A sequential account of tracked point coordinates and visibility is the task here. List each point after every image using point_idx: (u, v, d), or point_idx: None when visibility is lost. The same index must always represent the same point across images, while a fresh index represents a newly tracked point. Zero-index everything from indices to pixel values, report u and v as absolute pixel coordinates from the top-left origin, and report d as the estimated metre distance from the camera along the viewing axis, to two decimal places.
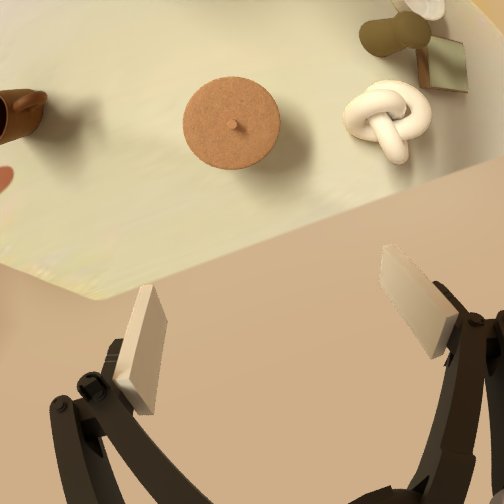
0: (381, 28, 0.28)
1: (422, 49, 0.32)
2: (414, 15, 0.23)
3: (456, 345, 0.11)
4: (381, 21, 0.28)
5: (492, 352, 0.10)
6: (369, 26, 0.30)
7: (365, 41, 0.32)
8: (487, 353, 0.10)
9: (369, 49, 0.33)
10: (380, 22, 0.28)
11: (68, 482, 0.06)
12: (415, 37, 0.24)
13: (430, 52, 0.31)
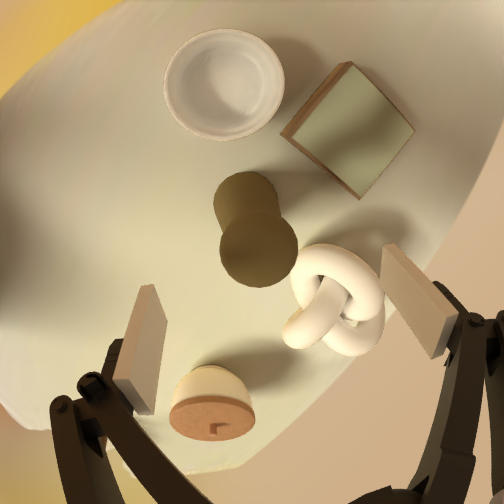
0: None
1: (308, 156, 0.25)
2: (237, 250, 0.18)
3: (456, 345, 0.11)
4: (221, 226, 0.24)
5: (492, 352, 0.10)
6: None
7: None
8: (487, 353, 0.10)
9: None
10: (221, 228, 0.24)
11: (68, 482, 0.06)
12: (271, 279, 0.20)
13: (320, 156, 0.24)
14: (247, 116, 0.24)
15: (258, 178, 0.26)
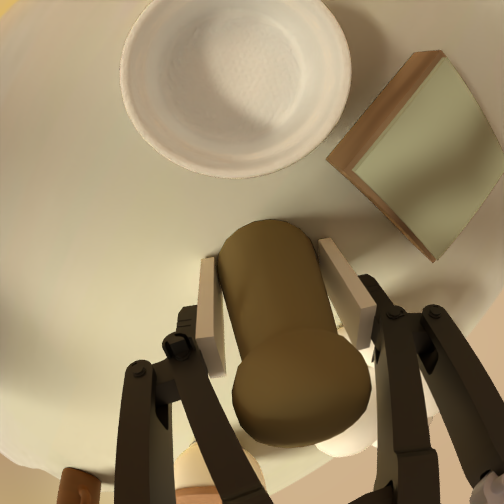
0: None
1: (371, 199, 0.15)
2: (268, 420, 0.08)
3: (379, 341, 0.12)
4: (231, 323, 0.14)
5: (420, 347, 0.11)
6: None
7: None
8: None
9: None
10: (232, 325, 0.14)
11: (124, 449, 0.08)
12: (321, 441, 0.10)
13: (394, 203, 0.14)
14: (274, 128, 0.14)
15: (291, 233, 0.16)
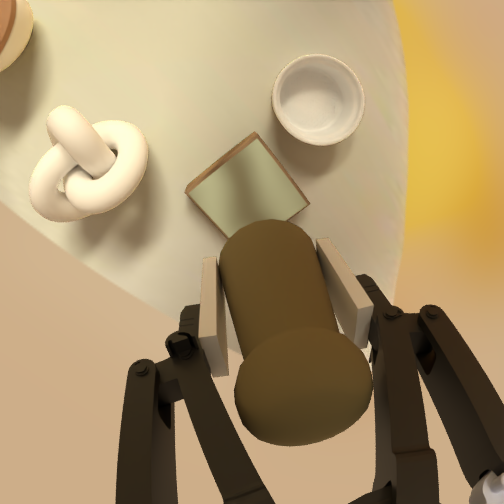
0: None
1: (234, 150, 0.28)
2: (270, 418, 0.09)
3: (377, 341, 0.12)
4: (233, 322, 0.14)
5: (417, 347, 0.11)
6: None
7: None
8: None
9: None
10: None
11: (126, 448, 0.08)
12: (323, 439, 0.10)
13: (235, 160, 0.27)
14: None
15: (292, 233, 0.16)
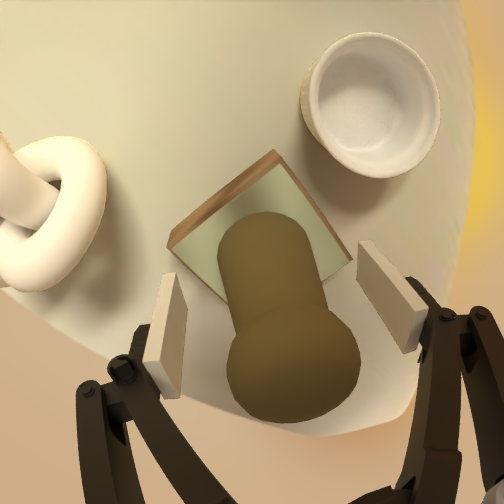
0: None
1: (243, 180, 0.18)
2: (259, 388, 0.09)
3: (428, 341, 0.11)
4: (229, 306, 0.15)
5: (466, 348, 0.10)
6: None
7: None
8: (461, 348, 0.11)
9: None
10: None
11: (87, 468, 0.07)
12: (313, 416, 0.10)
13: (244, 198, 0.17)
14: None
15: (286, 224, 0.17)
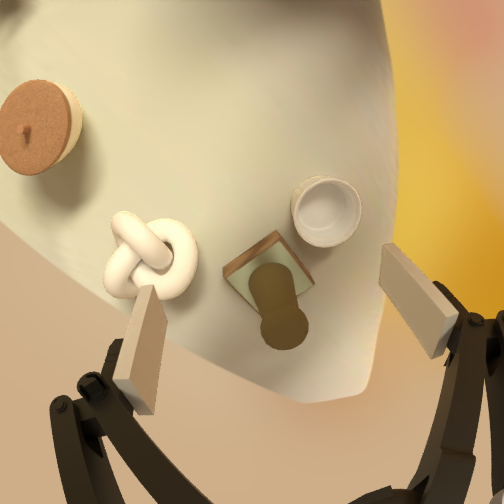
0: None
1: (261, 247, 0.39)
2: (273, 332, 0.30)
3: (456, 345, 0.11)
4: (257, 306, 0.36)
5: (492, 352, 0.10)
6: (254, 299, 0.38)
7: None
8: (487, 353, 0.10)
9: None
10: (257, 307, 0.36)
11: (68, 482, 0.06)
12: (291, 346, 0.31)
13: (262, 256, 0.38)
14: None
15: (281, 269, 0.38)
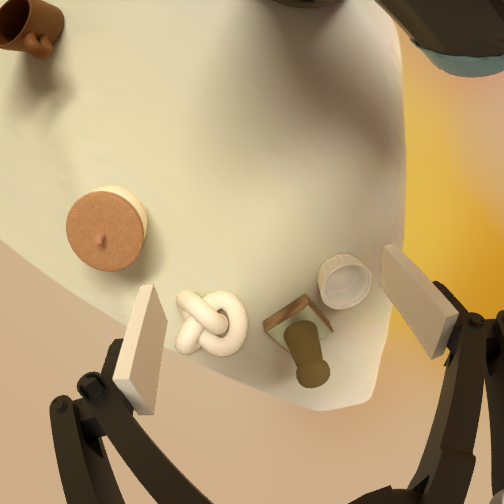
0: None
1: (294, 309, 0.50)
2: (306, 378, 0.41)
3: (456, 345, 0.11)
4: (292, 355, 0.47)
5: (492, 352, 0.10)
6: None
7: None
8: (487, 353, 0.10)
9: None
10: (292, 355, 0.47)
11: (68, 482, 0.06)
12: (318, 385, 0.42)
13: (295, 317, 0.49)
14: None
15: (309, 326, 0.49)
